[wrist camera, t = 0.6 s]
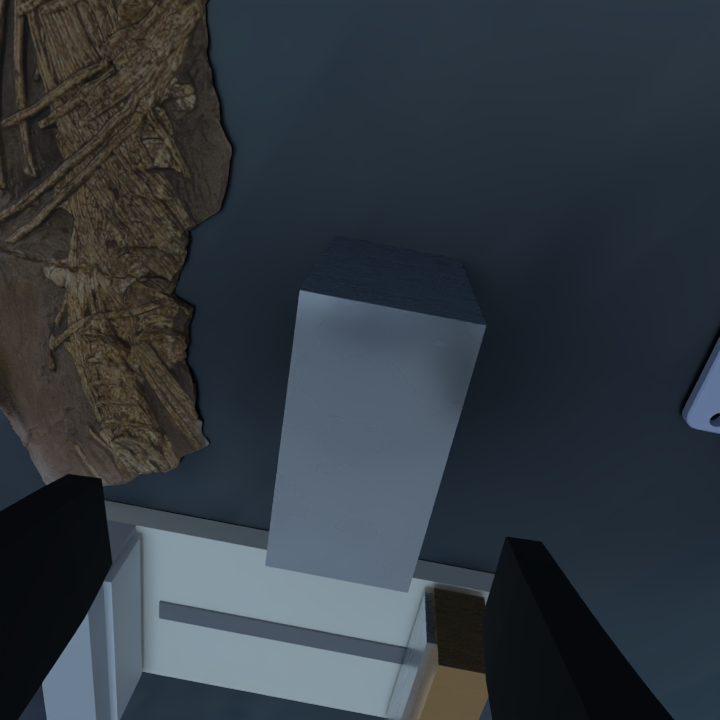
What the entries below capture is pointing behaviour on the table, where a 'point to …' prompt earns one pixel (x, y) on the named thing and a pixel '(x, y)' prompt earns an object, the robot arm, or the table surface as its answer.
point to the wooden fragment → (103, 228)
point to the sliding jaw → (443, 661)
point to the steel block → (371, 410)
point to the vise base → (235, 621)
